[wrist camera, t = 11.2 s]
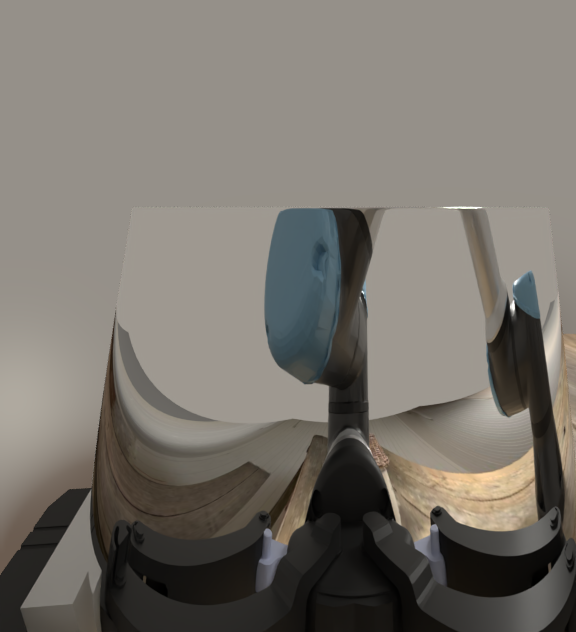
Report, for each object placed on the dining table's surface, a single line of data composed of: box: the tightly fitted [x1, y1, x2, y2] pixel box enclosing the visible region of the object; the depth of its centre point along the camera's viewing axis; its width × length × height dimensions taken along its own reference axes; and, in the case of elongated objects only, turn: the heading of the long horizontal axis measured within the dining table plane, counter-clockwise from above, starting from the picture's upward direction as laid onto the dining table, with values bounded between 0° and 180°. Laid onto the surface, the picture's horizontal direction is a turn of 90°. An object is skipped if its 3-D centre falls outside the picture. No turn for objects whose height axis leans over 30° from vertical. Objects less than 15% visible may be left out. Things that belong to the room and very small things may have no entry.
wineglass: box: [88, 207, 576, 632], centre depth 8 cm, size 8×8×18 cm
